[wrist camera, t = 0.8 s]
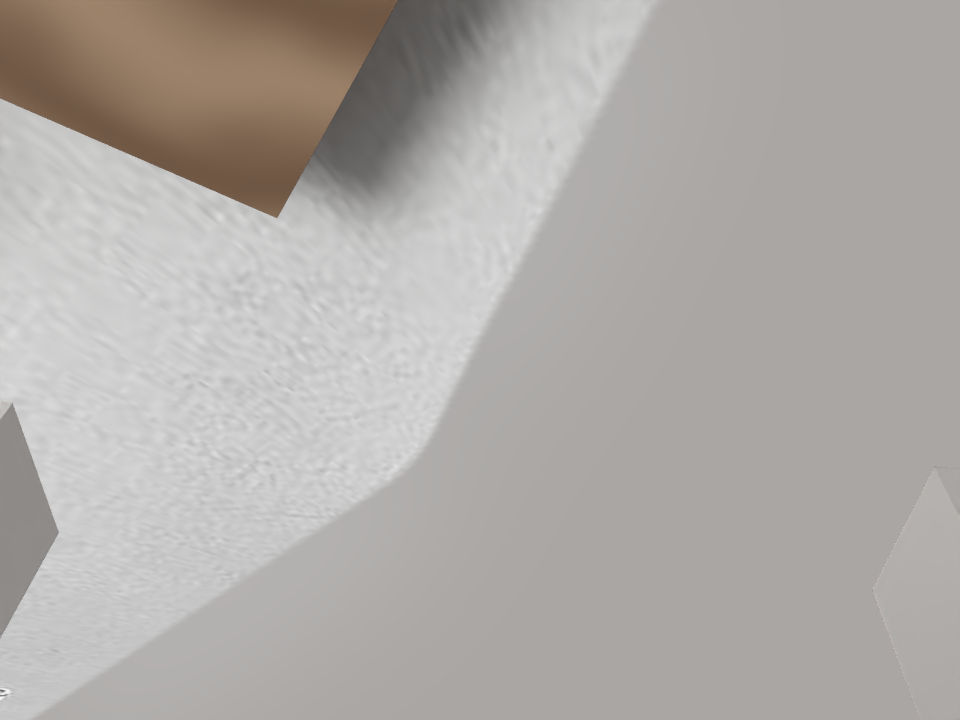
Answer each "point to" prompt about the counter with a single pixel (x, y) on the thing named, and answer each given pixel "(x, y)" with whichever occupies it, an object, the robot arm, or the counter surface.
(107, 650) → the counter surface
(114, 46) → the plant stand
